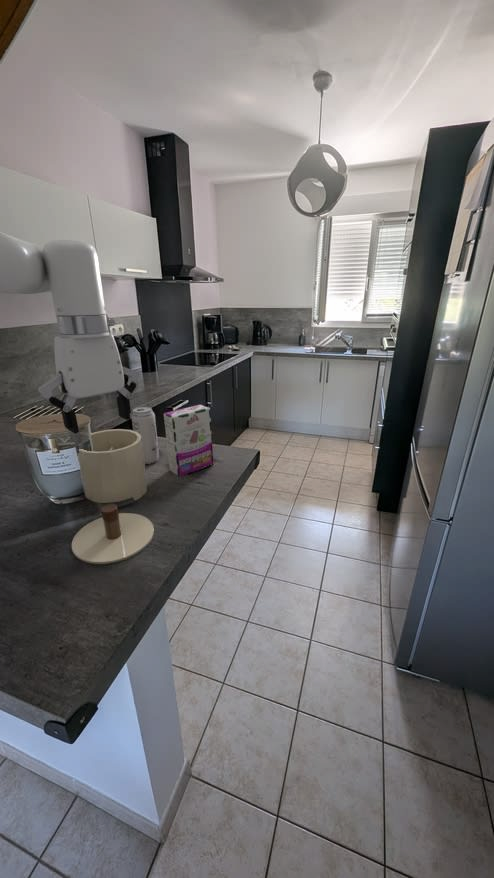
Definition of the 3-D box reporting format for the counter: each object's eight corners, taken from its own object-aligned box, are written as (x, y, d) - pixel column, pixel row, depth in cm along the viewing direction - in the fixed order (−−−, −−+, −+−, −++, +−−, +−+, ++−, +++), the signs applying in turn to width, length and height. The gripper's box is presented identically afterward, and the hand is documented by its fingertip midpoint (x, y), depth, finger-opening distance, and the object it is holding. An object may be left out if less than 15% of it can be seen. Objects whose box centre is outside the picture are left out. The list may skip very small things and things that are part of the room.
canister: (93, 516, 74) (81, 458, 69) (80, 489, 85) (69, 436, 80) (155, 497, 81) (149, 443, 76) (136, 474, 92) (130, 425, 87)
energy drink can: (159, 464, 97) (154, 412, 92) (136, 466, 96) (129, 413, 90) (159, 455, 103) (154, 405, 97) (137, 457, 101) (131, 407, 96)
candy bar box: (203, 459, 100) (200, 403, 94) (214, 465, 97) (211, 407, 90) (168, 471, 93) (162, 412, 87) (178, 478, 90) (173, 417, 84)
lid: (80, 579, 58) (72, 544, 55) (66, 533, 69) (59, 501, 67) (165, 546, 66) (162, 514, 63) (140, 509, 77) (136, 480, 74)
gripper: (121, 322, 67) (133, 409, 73) (17, 329, 55) (42, 431, 62) (142, 324, 62) (152, 417, 68) (33, 332, 50) (58, 443, 57)
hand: (100, 424), depth 65 cm, fingers open, 9 cm apart
